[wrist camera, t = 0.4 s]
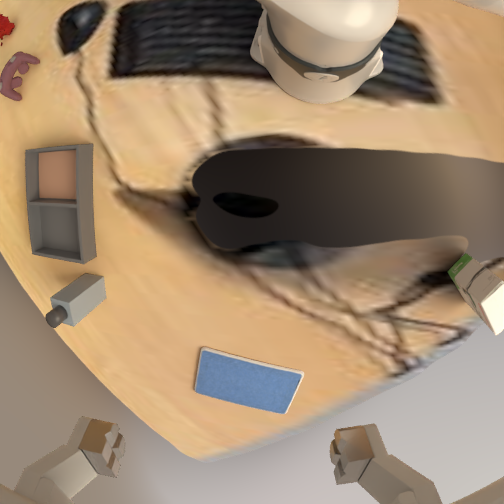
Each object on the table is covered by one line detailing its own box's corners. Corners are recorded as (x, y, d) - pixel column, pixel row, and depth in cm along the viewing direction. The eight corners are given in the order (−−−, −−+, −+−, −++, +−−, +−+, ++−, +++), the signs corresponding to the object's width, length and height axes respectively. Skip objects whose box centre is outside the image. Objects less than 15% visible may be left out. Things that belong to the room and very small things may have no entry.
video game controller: (39, 55, 41) (13, 47, 35) (42, 60, 40) (14, 51, 34) (19, 96, 45) (-7, 90, 39) (20, 103, 43) (-7, 97, 37)
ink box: (446, 271, 44) (479, 303, 32) (466, 251, 42) (503, 279, 31) (465, 303, 45) (496, 338, 34) (485, 285, 43) (519, 316, 32)
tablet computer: (305, 369, 53) (305, 373, 52) (286, 412, 58) (285, 416, 56) (202, 343, 55) (200, 347, 53) (194, 389, 59) (193, 393, 57)
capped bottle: (85, 273, 53) (39, 305, 40) (103, 276, 52) (58, 311, 39) (88, 293, 54) (45, 329, 41) (106, 297, 54) (63, 335, 41)
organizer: (39, 148, 46) (25, 150, 42) (93, 143, 45) (78, 144, 41) (45, 247, 53) (32, 254, 49) (96, 256, 51) (84, 264, 48)
